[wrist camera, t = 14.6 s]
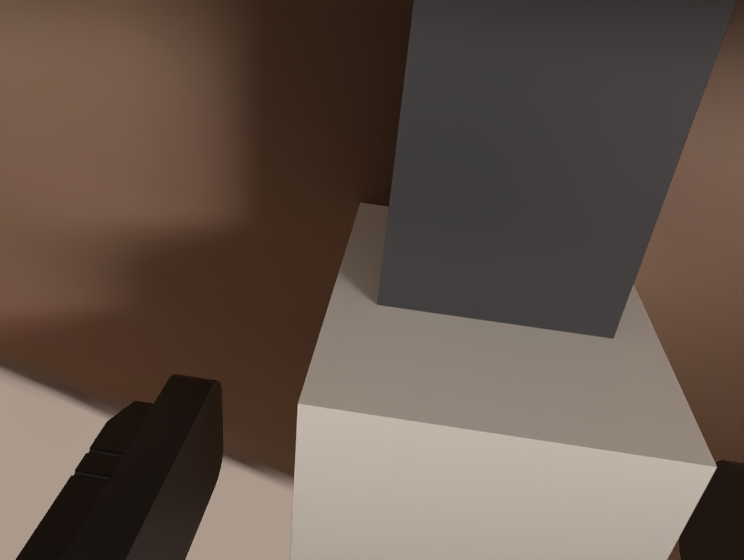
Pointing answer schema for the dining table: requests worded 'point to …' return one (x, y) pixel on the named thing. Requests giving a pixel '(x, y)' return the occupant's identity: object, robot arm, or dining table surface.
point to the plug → (512, 298)
